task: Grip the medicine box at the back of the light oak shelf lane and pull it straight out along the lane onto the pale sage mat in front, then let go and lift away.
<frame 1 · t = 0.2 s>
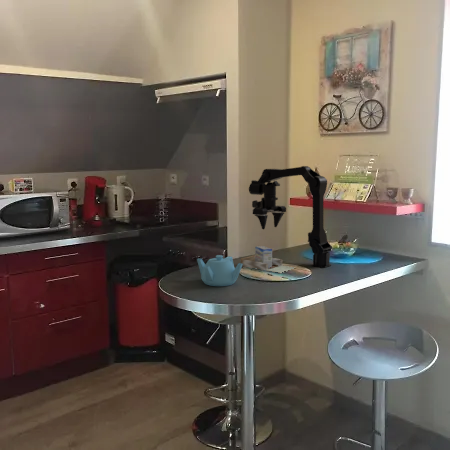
hand: (269, 228, 245), 14 cm above the counter, fingers open, 9 cm apart
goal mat: (281, 269, 222), on the counter
teapot: (218, 283, 200), on the counter
shelf lane: (261, 266, 229), on the counter
medicine box: (263, 267, 228), on the counter
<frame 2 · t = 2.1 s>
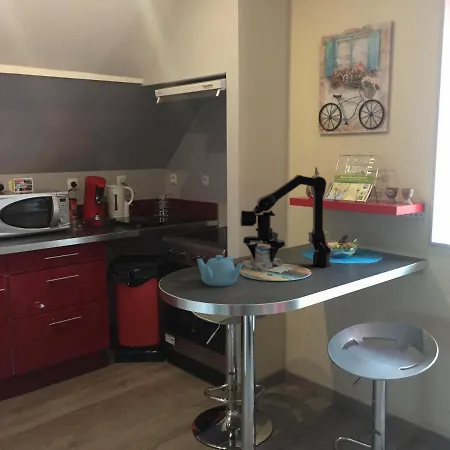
hand: (263, 260, 228), 3 cm above the counter, fingers closed on medicine box, 9 cm apart
medicine box: (263, 267, 228), on the counter, touching gripper
everything else where it was.
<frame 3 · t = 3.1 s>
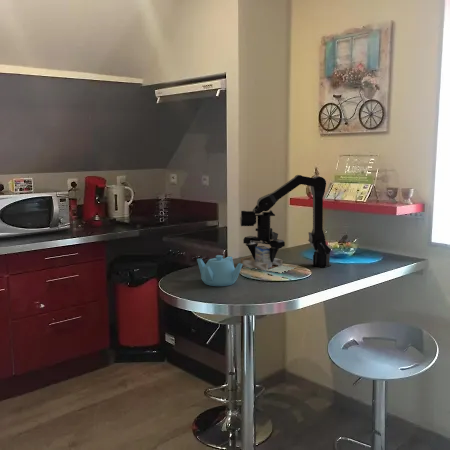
hand: (263, 260, 228), 3 cm above the counter, fingers closed on medicine box, 9 cm apart
medicine box: (263, 266, 228), on the counter, touching gripper
everything else where it was.
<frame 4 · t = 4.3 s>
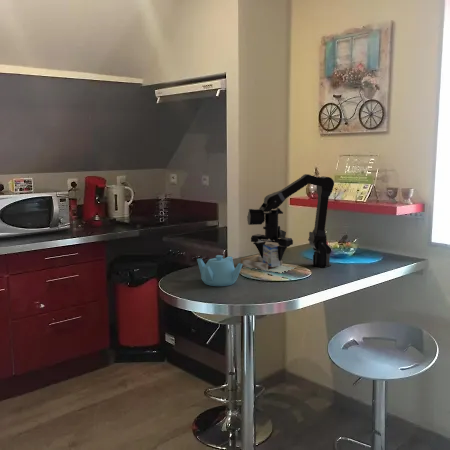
hand: (271, 259, 225), 4 cm above the counter, fingers closed on medicine box, 9 cm apart
medicine box: (271, 265, 225), point 1 cm above the counter, touching gripper
everything else where it was.
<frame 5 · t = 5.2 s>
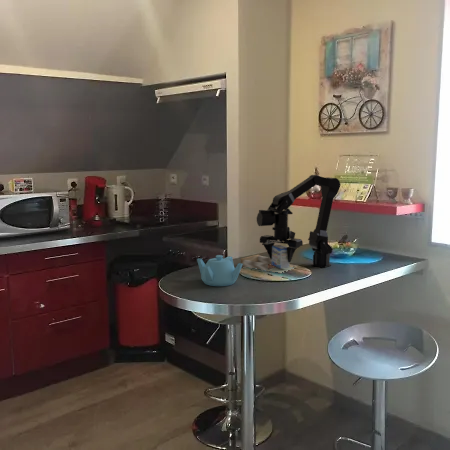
hand: (280, 260, 222), 4 cm above the counter, fingers closed on medicine box, 9 cm apart
medicine box: (280, 266, 222), point 1 cm above the counter, touching gripper
everything else where it was.
when the fingers open (3 cm above the counter, at t = 6.2 s): medicine box stays where it is, resting on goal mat.
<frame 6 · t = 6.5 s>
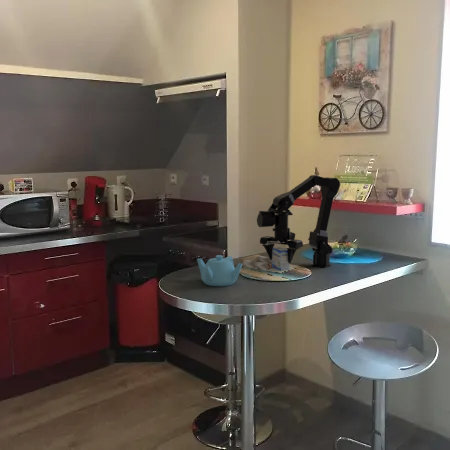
hand: (280, 261, 222), 3 cm above the counter, fingers open, 9 cm apart
medicine box: (280, 269, 222), resting on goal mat, touching gripper
everything else where it was.
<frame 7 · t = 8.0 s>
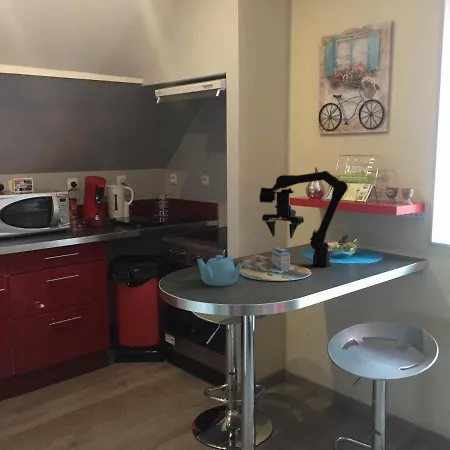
hand: (282, 237, 233), 12 cm above the counter, fingers open, 9 cm apart
medicine box: (280, 269, 222), resting on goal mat
everything else where it was.
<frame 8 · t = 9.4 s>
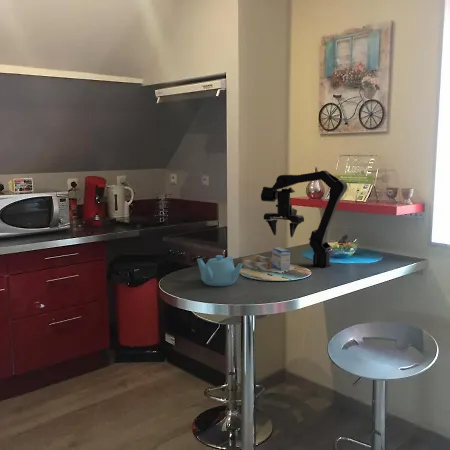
hand: (283, 236, 236), 12 cm above the counter, fingers open, 9 cm apart
nothing on the counter moved.
at the end: medicine box 0.2 cm from the target spot, resting on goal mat; medicine box tilted 0°; the gripper is holding nothing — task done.
